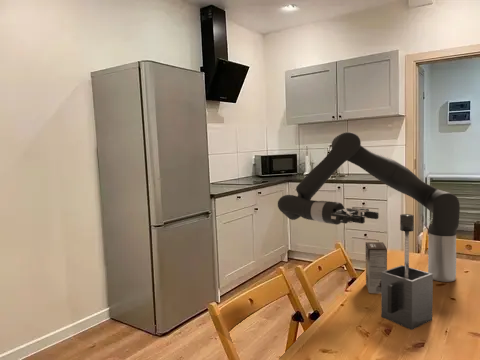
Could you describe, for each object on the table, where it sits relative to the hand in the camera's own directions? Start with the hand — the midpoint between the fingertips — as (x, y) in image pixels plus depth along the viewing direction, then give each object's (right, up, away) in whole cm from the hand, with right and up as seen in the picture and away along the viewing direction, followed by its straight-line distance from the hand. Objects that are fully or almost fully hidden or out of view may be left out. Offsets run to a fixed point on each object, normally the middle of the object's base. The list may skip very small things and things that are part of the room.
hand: (371, 217), depth 117 cm
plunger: (+8, -19, -6) cm, 22 cm away
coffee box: (+8, -28, +18) cm, 34 cm away
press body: (+7, -30, -6) cm, 31 cm away
